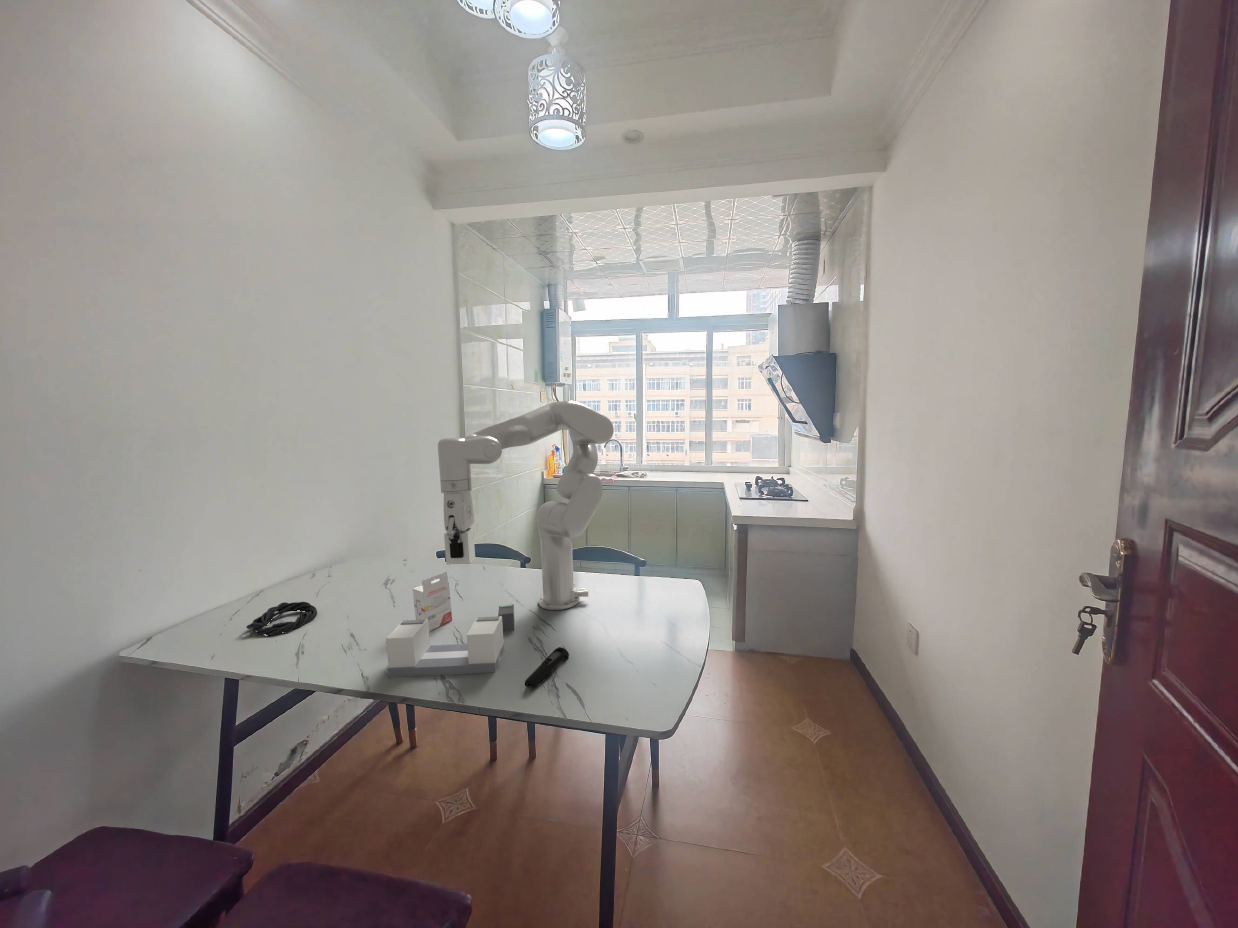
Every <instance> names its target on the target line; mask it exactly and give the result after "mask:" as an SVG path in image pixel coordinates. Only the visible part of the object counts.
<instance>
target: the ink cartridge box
mask: <svg viewBox="0 0 1238 928" xmlns="http://www.w3.org/2000/svg"><path fill="white" fill-rule="evenodd" d="M421 584H422V585H419V586H417V587H414V588H412V594H413V595H412V596H413V605H414V615H415V616H414V617H415V620H426V619H428V626H429V632H431V631H433V630H435V629H437V628H440V627H441V626H443V625H445V624H447V623H450V622H451V621H453V614H452V603H451V602H452V601H451V600H452V599H451V589H450V588H451V587H450V581H449V576H448V572H447V571H444V572H442V573H439V574H436V575H433V576H430V577H428V578H425V579H423V580H422V581H421Z"/></svg>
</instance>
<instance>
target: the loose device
mask: <svg viewBox="0 0 1238 928" xmlns="http://www.w3.org/2000/svg"><path fill="white" fill-rule="evenodd" d="M514 605H515V604H513V603H508V604H506V603H505V604H500V605H499V606H498V613H497V616H502V624H503V633H504V632H510V631H511V632H512V631H515V606H514Z"/></svg>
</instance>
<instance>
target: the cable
mask: <svg viewBox="0 0 1238 928" xmlns="http://www.w3.org/2000/svg"><path fill="white" fill-rule="evenodd" d="M297 610H300V611H305V612H299V616H297V617H296V619H295V621H285V622H278V623H273V624H272V625H267V624H268V623H269V622H271V621H272V620H273V619H275V620H277V619H279V617H280V616H282V615H283V614H286V613H289V612H291V611H297ZM317 615H318V610H317V608H316V607H315V606H314V605H313V604H311V603H309V602H307V601H299V602H297V601H294V602H280V603H279V604H278V605H276V606H272V607H270V608H268V609H267V610H266V611H265V612H263V614H262V615H260V616H258V617H257V618H255V619H253V621H252V622H251V623H250V624H247V626H246V629H248V630H251V629H253V630H252V631H254V632H256V631H258V634H259V635H263V634H266V635H270V636H273V634H274V635H278V634H277V633H282V632H287V633H289V632H291V631H293V630H294V628H295V629H297V627H298V628H299V627H302V625H304V624H307V623H309V622H311V621H313V620H314V619H315V618H316V617H317ZM271 619H272V620H271ZM273 621H274V620H273ZM273 621H272V622H273ZM308 621H309V622H308ZM272 622H271V623H272ZM306 622H307V623H306Z"/></svg>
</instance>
